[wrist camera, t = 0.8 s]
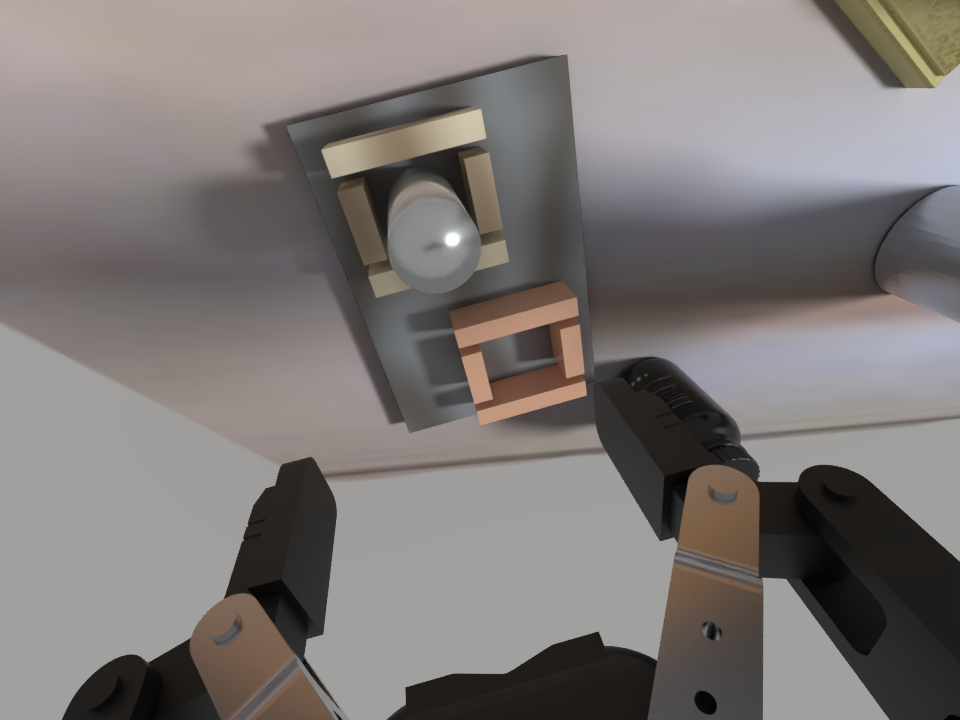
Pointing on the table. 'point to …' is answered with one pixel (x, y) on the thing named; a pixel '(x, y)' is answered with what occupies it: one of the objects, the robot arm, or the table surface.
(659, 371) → the supplement bottle
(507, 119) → the mount board
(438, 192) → the peg
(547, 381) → the socket
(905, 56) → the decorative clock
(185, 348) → the table surface
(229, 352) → the table surface
